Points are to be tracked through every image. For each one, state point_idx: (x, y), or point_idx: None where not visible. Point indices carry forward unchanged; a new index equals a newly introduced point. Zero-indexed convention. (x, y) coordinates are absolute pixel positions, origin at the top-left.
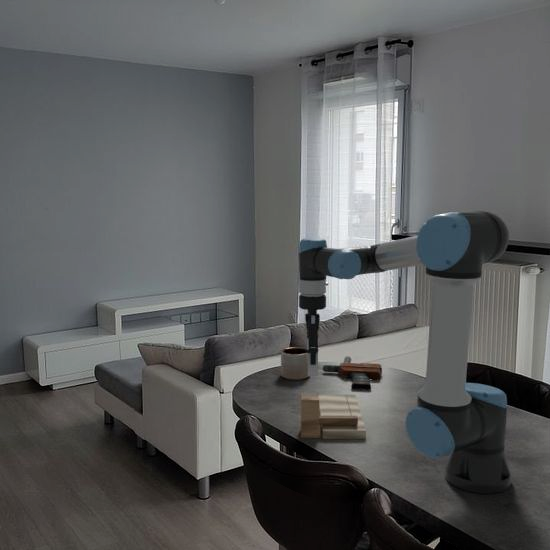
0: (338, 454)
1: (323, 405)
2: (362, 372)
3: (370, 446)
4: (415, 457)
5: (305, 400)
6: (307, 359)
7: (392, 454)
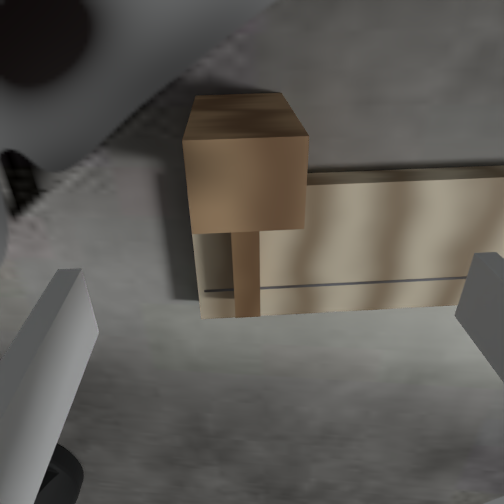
0: (69, 224)
1: (454, 194)
2: None
3: (150, 309)
4: (99, 393)
5: (185, 163)
6: (483, 267)
7: (106, 352)
